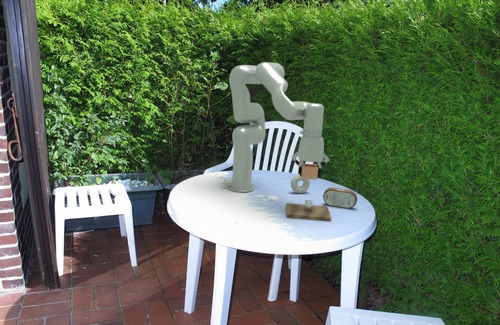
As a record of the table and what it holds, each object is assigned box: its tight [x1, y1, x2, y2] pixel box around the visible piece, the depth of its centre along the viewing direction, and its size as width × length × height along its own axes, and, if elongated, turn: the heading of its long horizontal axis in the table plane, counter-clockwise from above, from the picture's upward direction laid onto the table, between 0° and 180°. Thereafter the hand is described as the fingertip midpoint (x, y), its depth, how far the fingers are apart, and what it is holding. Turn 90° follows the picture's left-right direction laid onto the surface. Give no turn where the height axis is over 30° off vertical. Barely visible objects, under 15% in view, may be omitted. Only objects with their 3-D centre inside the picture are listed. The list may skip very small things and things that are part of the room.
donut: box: [290, 173, 311, 194], centre depth 192 cm, size 10×4×10 cm, turn 104°
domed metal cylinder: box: [304, 199, 313, 212], centre depth 165 cm, size 3×3×4 cm
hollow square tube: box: [301, 163, 318, 180], centre depth 163 cm, size 6×6×5 cm
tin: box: [322, 186, 358, 210], centre depth 176 cm, size 15×3×8 cm, turn 71°
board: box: [285, 202, 332, 222], centre depth 166 cm, size 18×14×2 cm
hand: (308, 175), depth 164 cm, fingers closed on hollow square tube, 6 cm apart
